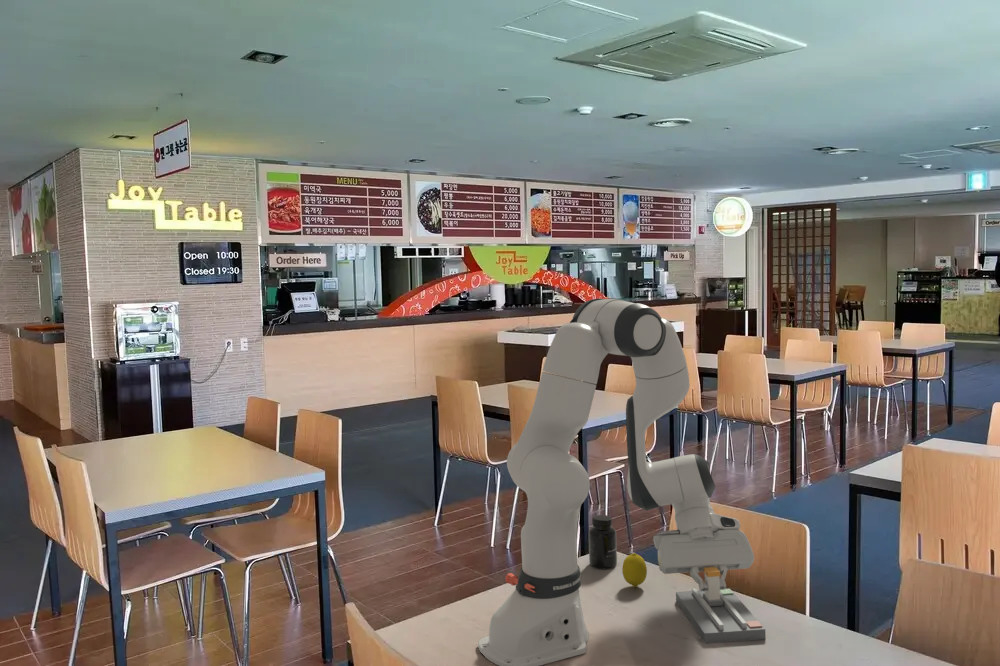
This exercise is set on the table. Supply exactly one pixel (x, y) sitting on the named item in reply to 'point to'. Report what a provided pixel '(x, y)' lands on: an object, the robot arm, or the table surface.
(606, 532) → the supplement bottle
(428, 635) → the table surface
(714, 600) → the breaker lever
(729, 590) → the switch panel
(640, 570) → the lemon
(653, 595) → the table surface
